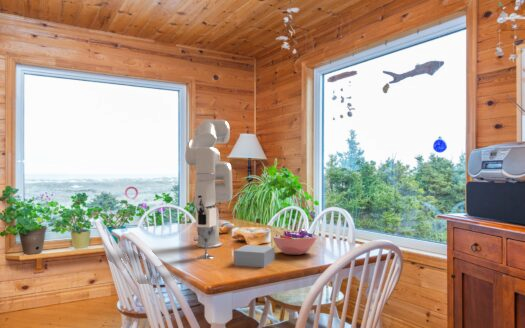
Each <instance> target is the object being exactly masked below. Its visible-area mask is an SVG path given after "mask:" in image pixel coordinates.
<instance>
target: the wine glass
mask: <svg viewBox="0 0 525 328" xmlns="http://www.w3.org/2000/svg"><path fill="white" fill-rule="evenodd" d="M214 230H215V226H212V227H196V232H197V237H200V239H201V240H202V241H203V242H204V245H205V248H204V254H202V255H198V256H197V258H198V259H201V260H206V259H208V260H209V259H214V258H215V255H214V254H213V255H212V254H208V248H207V244H208V242H209V240H210V239H211V238H212V237H213V235H214Z"/></svg>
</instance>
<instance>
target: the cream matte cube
mask: <svg viewBox="0 0 525 328" xmlns="http://www.w3.org/2000/svg"><path fill="white" fill-rule="evenodd" d="M202 210H203V208H202ZM205 214H206V225H199V224H198V214H197V209H196V208H195V228H197V227H212V226H215V225H216V208H210V207H206V211H205Z"/></svg>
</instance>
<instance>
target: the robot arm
mask: <svg viewBox="0 0 525 328" xmlns="http://www.w3.org/2000/svg"><path fill="white" fill-rule="evenodd" d="M230 128H231V127H230V123H228V121H227V120H225V119H203V120H202V121H201V122H200V123H199V125H198V127H197V128H195V130H194V137H193V138H191V139H190V140H189V141H188V142H187V144H186V147H185V154H184V155H185V156H184V157H185V162H186V163H187V165H188V166H195V174H196V175H195V181H196V182H195V185H194V187H195V188H194V204H193V205H194V207H195V210H196V209H197V214H198V224H199V225H206V214H205V211H206V207H210V208H216V225H215V230H214V235H213V237H212V238H211V239H210V240H209V242H208V244H207V249H209V248H218V247H221V246H222V245H223V242H221V241H220V228H219V227H220V224H219V223H220V216H219V213H220V212H219V208H218V207H217V205H216V203H217V202H218V203H220V202H230V201H231V200H232V199H233V169H232V168H233V167H232V165H231V163H230V162H228V161H220V160H221V153H220V151H219V150H218V148H216V147H215V145H216V144H227V143H229V141H230V137H231V129H230ZM216 181H222V182H216ZM202 208H203V210H202ZM193 241H194V242H197V243H196V247H199V248H204V249H205V245H204V242H203V241H202V240H201V239H200V237H199V236H194V237H193Z"/></svg>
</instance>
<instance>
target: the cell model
mask: <svg viewBox="0 0 525 328" xmlns="http://www.w3.org/2000/svg"><path fill="white" fill-rule="evenodd" d="M317 238H318V236H317V235H316V234H313V233H309V232H308V231H307V230H306V229H304V228H301V229H300V231H299V232H298V231H297V232H295V231H292V232H291V231H288V230H287V231H286V230H284V231H283V233H282V232H280V233H276V234H273V236H272V239H273V242H274V245H275V246H276V248H277V249H278V250H279V251H281V253H284V254H286V255H294V256H295V255H303V254H306V253H308V252H309V251H310V250H311V249H312V247H313V246H314V244H315V242H316V240H317Z"/></svg>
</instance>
